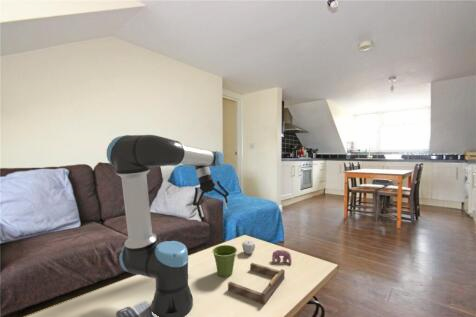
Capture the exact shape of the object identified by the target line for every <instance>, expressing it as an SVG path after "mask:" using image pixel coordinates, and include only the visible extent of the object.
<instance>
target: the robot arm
mask: <svg viewBox="0 0 476 317" xmlns="http://www.w3.org/2000/svg"><path fill="white" fill-rule="evenodd" d="M106 159H107V161H108V163H109V164H110V165H112V166H113V167H115V174H116V175H117V176H119V177H120V179H121V185H122V193H123V195H122V196H123V203H124V211H125V213H124V214H125V222H126V228H127V230H126V231H127V237H128V238H127V239H126V240H125V241H124V245H123V246H122V248H121V252H119V257H118V260H119V265H120V267H121V268H122V269H123V271H125V272H127V273H130V274H133V275H138V276H144V277H147V278H151V279H154V280H155V291H154V294H153V299H152V301H151V304H150V311H151V310H152V312H153V313H154V314H156V315H157V316H159V317H185V316H187V315H188V314H189V313H190V312H191V310H192V309H193V307H194V299H193V295H192V291H191V289H190V286H189V255H188V252H189V251H188V248H187V246H186V245H185V244H184V243H182V242H180V241H176V240H171V241H169V240H165V241H162V242H159V243H158V236H157V235H156V234H155V233H154V232H153V228H152V227H153V226H152V220H151V218H152V217H151V208H150V199H149V198H150V197H149V188H148V177H147V175H148V174H149V172H150V171H151V168H158V167H167V166H168V167H169V166H172V167H175V166H178V165H180V164H181V165H183V166H187V167H188V166H189V167H194V168H195V171H196V176H197V179H198V182H199V183H198V184H199V186H197V187H196V186H195V187H194V191H195V192H194V197H193V203H192V206H196V208H197V212H199V213H200V214H201V218H204V216H205V215H204V212H203V208H202V205H200V204H201V203H202V200H203V197H204V195H205V194H206V193H207V194H208V193H211V192H213V191H214V192H216V193H217V194H219V195H220V196H221V197H223V198H222V199H223V203H224V206H225V209H226V210H228V206H227V204H228V203H229V202H228V201H229V200H228V198H227V197H228V196H229V195H230V193H229V192H228V191H227V190H226V189H225V188H224V187H223V186H222V184H221V182H220V181H219V180H217V181H215V182H214V180H213V177H212V174H211V169H210V167H222V166H223V164H224V162H225V155H224V153H223V152H222V151H217V150H215V151H211V150H206V149H204V148H198V147H194V146H189V145H185V144H183V143H182V142H180V141H179V140H175V139H171V138H167V137H163V136H159V135H156V134H155V135H154V134H133V135H132V134H131V135H129V134H126V135H120V136H117V137H115V138H113V139H112V140H111V142H109V144H108V146H107V148H106ZM215 186H218V187H219V188H220V189H221V190H218V189H217V188H216V187H215ZM200 190H201V193H200V194H199V191H200ZM198 194H199V195H200V196H199V198H198ZM197 199H198V200H197Z"/></svg>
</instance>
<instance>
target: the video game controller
mask: <svg viewBox="0 0 476 317" xmlns="http://www.w3.org/2000/svg"><path fill="white" fill-rule="evenodd" d="M271 257H272V258H271V259H272V264H273V265H275V264H276V261H277V262H281V261H282V262H285V263H286V262H287V261H288V264H289V265H292V255H291V253H290V252H289V251H288V250H284V249H279V250H274V251H273V252H272V256H271ZM281 257H282V259H281Z"/></svg>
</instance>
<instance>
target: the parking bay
mask: <svg viewBox="0 0 476 317" xmlns="http://www.w3.org/2000/svg"><path fill="white" fill-rule="evenodd" d="M249 266H250V271H252V272H256V273H259V274H262V275H265V276H269V277H272V279H271V280H270V281H269V282H268V284H267V286H266V287H265V288H264V290H262V292H259V291H257V290H254V289H252V288H249V287H246V286H243V285H241V284H238V283H235V282H231V281H229V282H228V283H227V291H229V292H231V293H234V294H236V295H239V296H242V297H244V298H246V299H249V300H252V301H255V302H256V303H260V304H262V305H266V303H268V301H269V300H270V299H271V297H272V296H273V294H274V293H275V292H276V291H277V289H278V288H279V286H280V285H281V284H282V283H283V281H284V280H285V269H283V268H282V269H280V270H279V269H274V268H272V267H269V266H264V265H261V264H258V263H255V262H251V263H250V265H249Z"/></svg>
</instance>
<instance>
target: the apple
mask: <svg viewBox="0 0 476 317" xmlns="http://www.w3.org/2000/svg"><path fill="white" fill-rule="evenodd" d="M241 247H242V250H243V253H244V254H246V255H251V254H253V253H254V251H255V248H256V244H255V242H254V241H252V240H245V241H243V242H242V243H241Z"/></svg>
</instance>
